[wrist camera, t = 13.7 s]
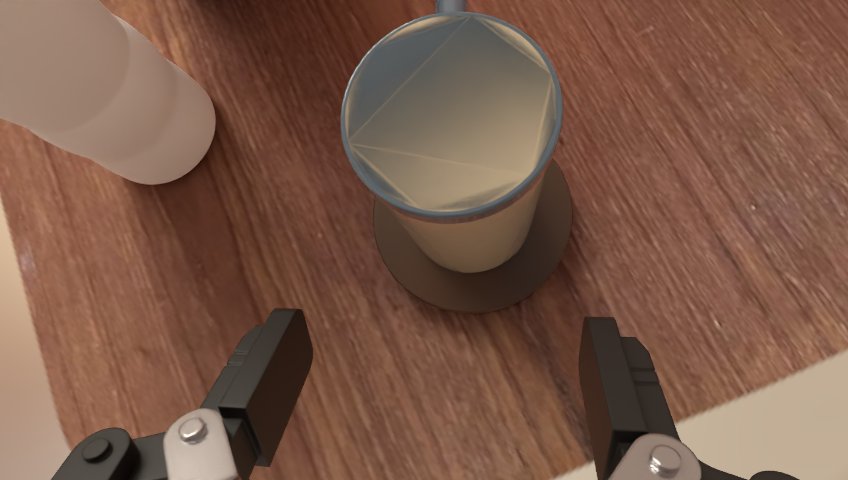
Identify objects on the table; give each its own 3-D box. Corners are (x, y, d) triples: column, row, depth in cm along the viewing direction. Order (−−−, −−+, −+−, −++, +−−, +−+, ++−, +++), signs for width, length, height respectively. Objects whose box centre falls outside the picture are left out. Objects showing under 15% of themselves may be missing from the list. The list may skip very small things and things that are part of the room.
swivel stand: (468, 356, 25) (466, 356, 23) (342, 219, 27) (334, 212, 26) (610, 219, 25) (617, 211, 24) (473, 97, 28) (472, 83, 26)
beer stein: (407, 277, 24) (337, 223, 14) (405, 104, 26) (343, -58, 16) (539, 272, 24) (572, 211, 13) (527, 94, 26) (548, -86, 15)
